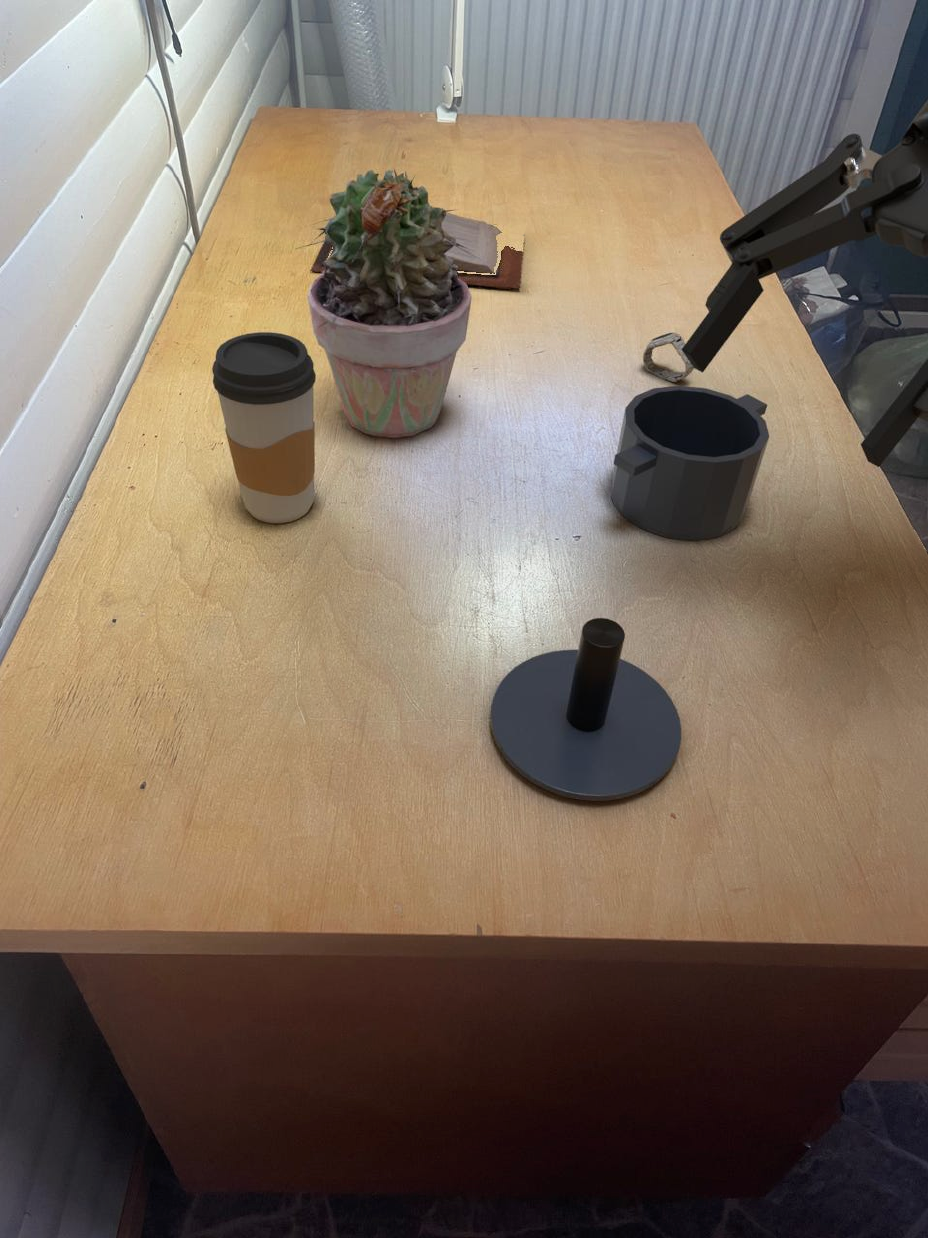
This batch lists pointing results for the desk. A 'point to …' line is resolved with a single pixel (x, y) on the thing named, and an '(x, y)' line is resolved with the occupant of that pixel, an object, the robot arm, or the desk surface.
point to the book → (485, 250)
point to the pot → (688, 461)
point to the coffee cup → (269, 422)
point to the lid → (586, 720)
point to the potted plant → (389, 305)
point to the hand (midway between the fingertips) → (774, 406)
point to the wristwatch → (666, 373)
